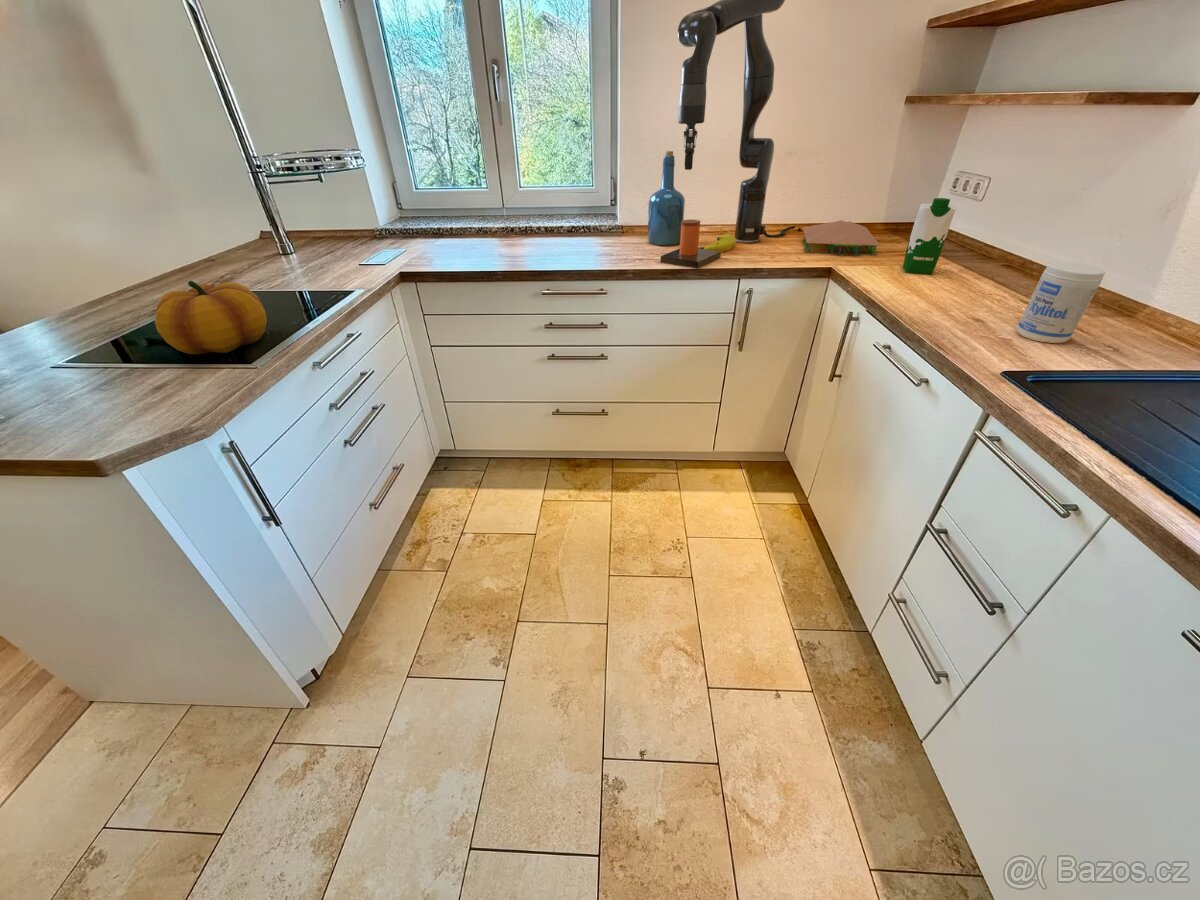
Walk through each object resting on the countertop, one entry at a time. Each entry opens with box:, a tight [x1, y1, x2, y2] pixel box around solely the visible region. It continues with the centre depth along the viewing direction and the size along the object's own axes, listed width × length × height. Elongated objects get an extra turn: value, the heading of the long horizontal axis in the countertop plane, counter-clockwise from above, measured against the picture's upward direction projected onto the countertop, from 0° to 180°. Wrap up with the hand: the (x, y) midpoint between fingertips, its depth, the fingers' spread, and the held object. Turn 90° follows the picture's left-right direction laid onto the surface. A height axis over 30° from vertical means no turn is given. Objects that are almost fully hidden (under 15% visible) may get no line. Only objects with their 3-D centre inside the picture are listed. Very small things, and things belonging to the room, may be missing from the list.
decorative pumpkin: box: [154, 280, 268, 355], centre depth 113 cm, size 20×22×15 cm
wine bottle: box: [647, 150, 686, 246], centre depth 185 cm, size 14×13×30 cm
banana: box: [698, 233, 738, 253], centre depth 184 cm, size 5×17×15 cm
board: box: [660, 247, 722, 269], centre depth 171 cm, size 16×14×2 cm
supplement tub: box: [1016, 261, 1106, 344], centre depth 107 cm, size 10×10×15 cm
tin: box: [679, 219, 701, 256], centre depth 168 cm, size 6×6×10 cm
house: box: [802, 220, 881, 257], centre depth 181 cm, size 23×33×8 cm
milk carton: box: [902, 197, 956, 275], centre depth 149 cm, size 9×9×20 cm
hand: (688, 168), depth 155 cm, fingers open, 8 cm apart
